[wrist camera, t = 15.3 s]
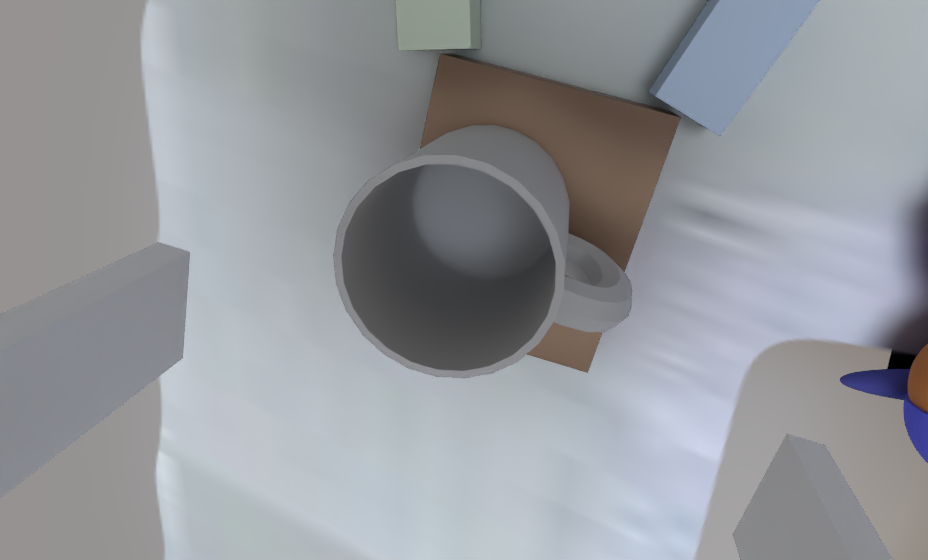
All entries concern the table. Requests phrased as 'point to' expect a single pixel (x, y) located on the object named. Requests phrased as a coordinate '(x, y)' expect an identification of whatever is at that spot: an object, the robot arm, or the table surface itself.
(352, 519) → the table surface
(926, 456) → the toy
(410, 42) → the brick sage
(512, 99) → the slab
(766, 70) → the brick blue
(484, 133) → the cup
